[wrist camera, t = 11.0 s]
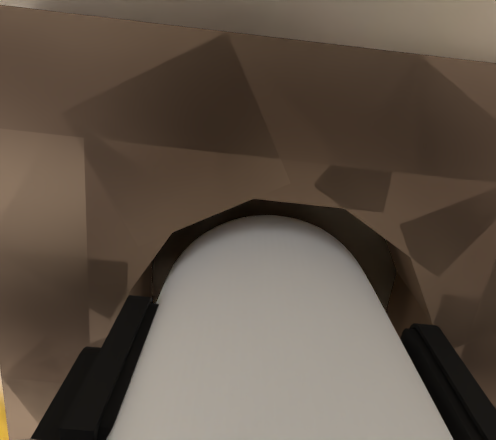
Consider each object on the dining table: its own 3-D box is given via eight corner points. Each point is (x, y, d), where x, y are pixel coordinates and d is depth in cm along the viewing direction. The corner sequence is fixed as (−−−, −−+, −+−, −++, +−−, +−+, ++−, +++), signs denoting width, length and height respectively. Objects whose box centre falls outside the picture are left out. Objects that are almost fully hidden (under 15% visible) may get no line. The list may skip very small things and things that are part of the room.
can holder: (29, 14, 11) (-45, -1, 8) (575, 78, 12) (676, 84, 9) (57, 435, 17) (18, 511, 14) (432, 469, 17) (468, 549, 14)
